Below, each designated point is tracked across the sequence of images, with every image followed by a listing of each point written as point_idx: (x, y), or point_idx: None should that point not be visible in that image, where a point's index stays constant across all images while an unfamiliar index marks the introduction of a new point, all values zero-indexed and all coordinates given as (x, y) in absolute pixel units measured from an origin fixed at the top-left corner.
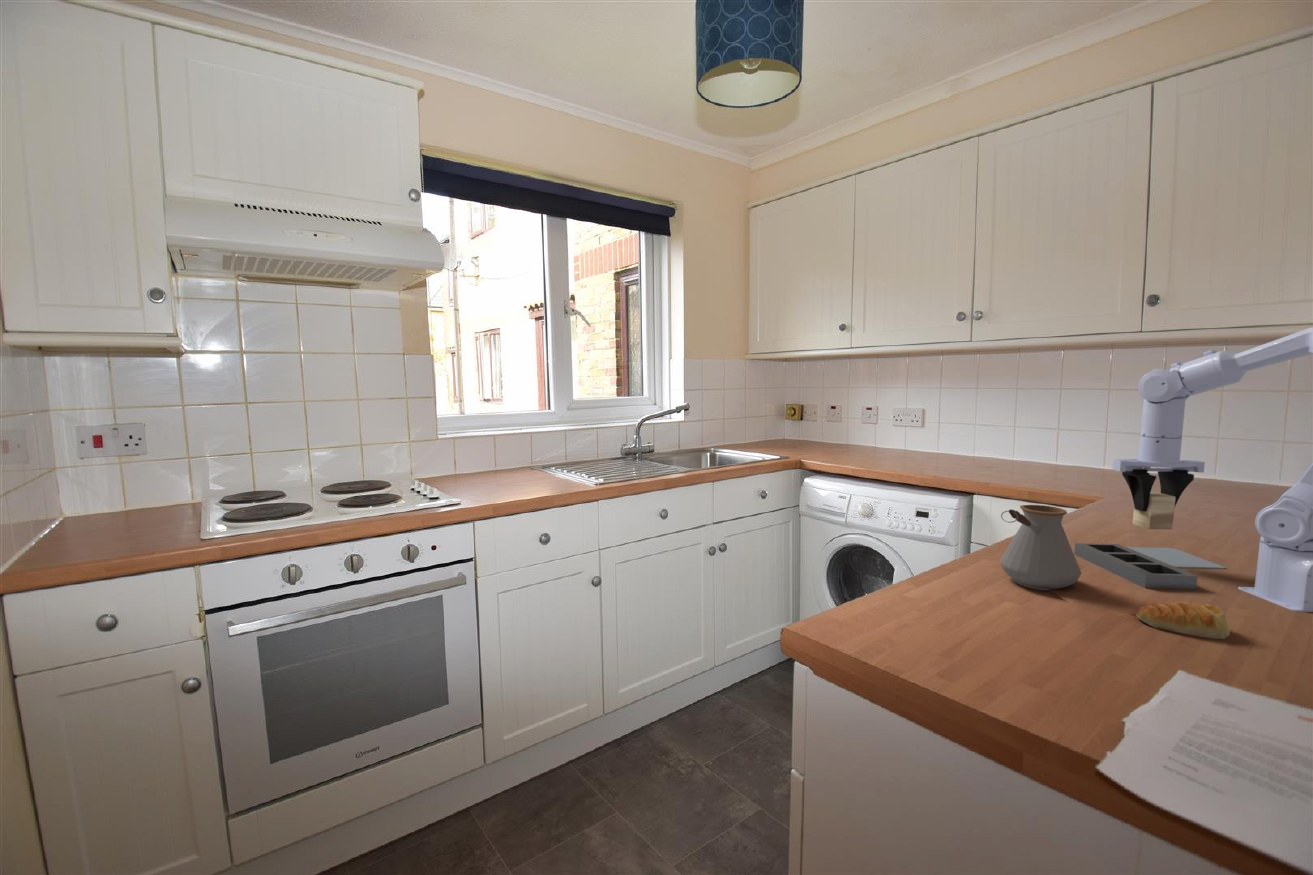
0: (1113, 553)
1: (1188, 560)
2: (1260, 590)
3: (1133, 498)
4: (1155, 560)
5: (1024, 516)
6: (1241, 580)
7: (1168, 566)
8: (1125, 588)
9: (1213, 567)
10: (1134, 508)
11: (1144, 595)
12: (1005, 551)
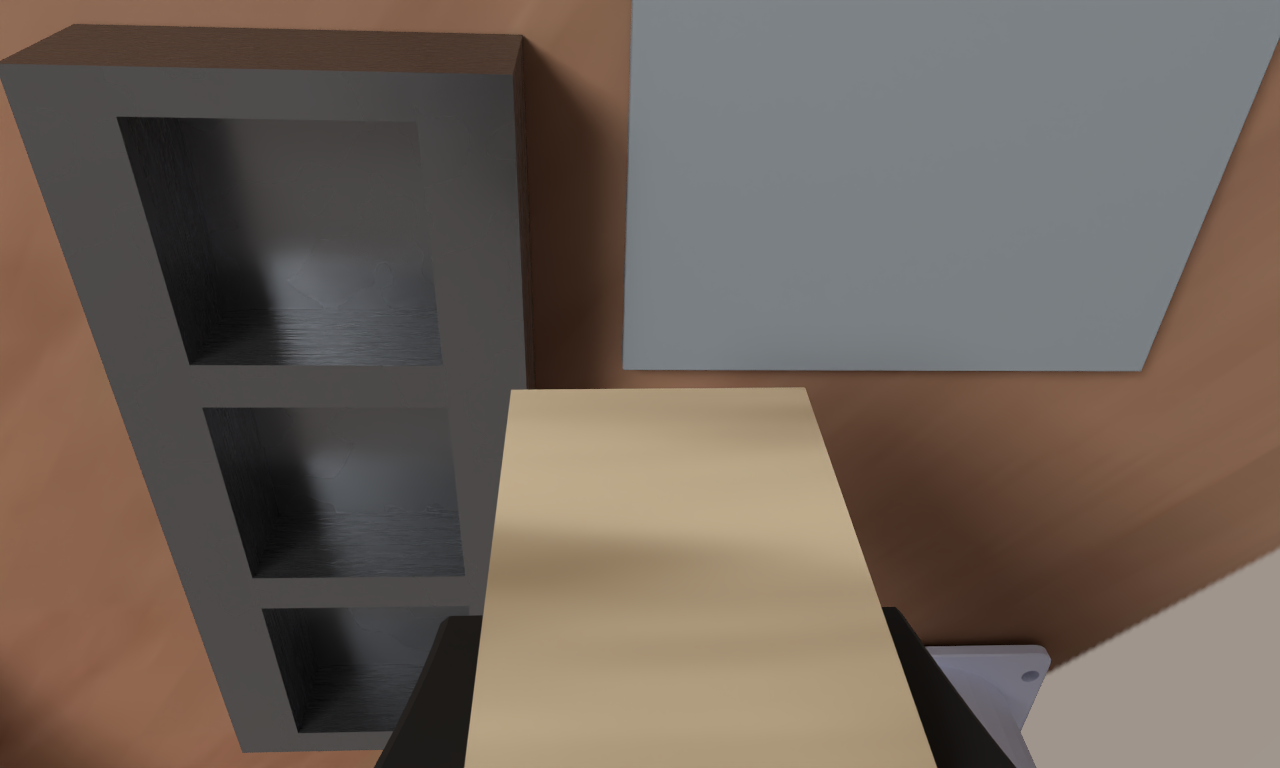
0: (263, 394)
1: (1040, 214)
2: None
3: (384, 765)
4: None
5: None
6: (1001, 511)
7: None
8: (177, 656)
9: (1044, 370)
10: (492, 552)
11: (229, 721)
12: None
